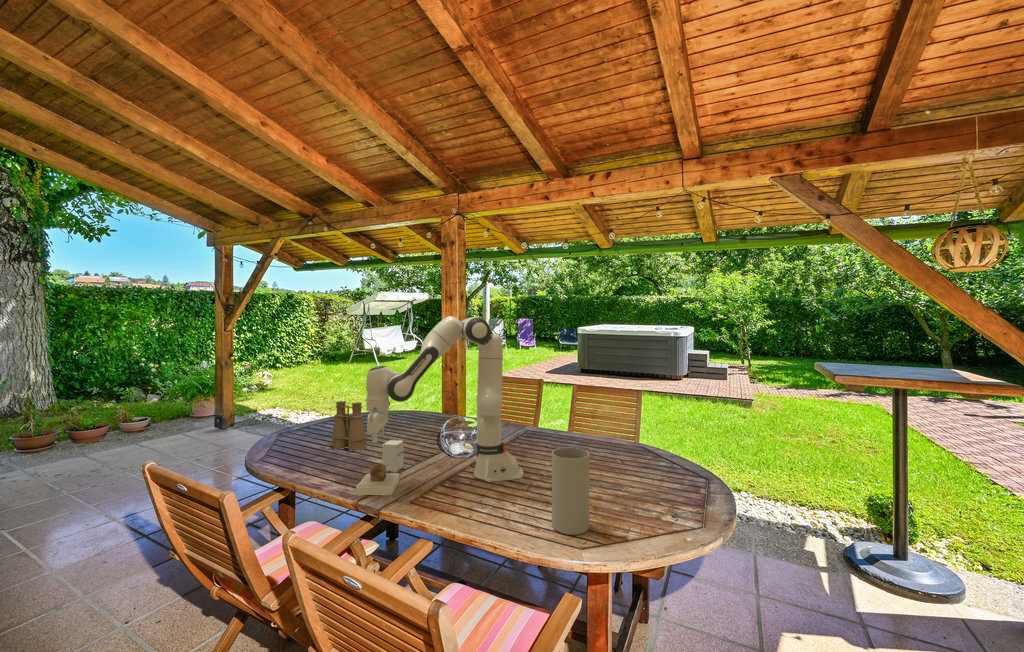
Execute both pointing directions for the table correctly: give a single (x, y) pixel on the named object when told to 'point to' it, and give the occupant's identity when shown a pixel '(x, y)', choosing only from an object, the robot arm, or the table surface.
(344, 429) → the binoculars
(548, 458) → the table surface
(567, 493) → the cylinder vase
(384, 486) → the plinth
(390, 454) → the supplement box
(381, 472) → the walnut block
